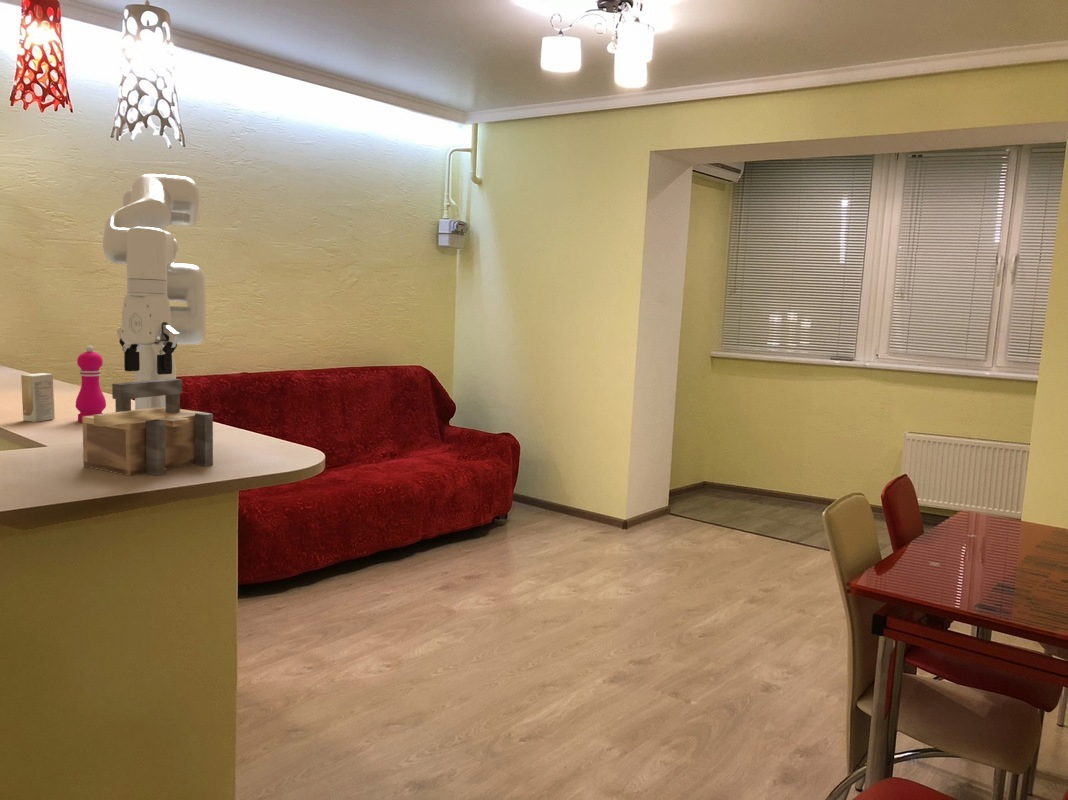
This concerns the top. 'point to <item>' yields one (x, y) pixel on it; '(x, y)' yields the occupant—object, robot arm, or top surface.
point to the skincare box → (37, 397)
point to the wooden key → (129, 416)
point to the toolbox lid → (150, 389)
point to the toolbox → (149, 446)
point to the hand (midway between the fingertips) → (148, 372)
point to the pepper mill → (90, 385)
